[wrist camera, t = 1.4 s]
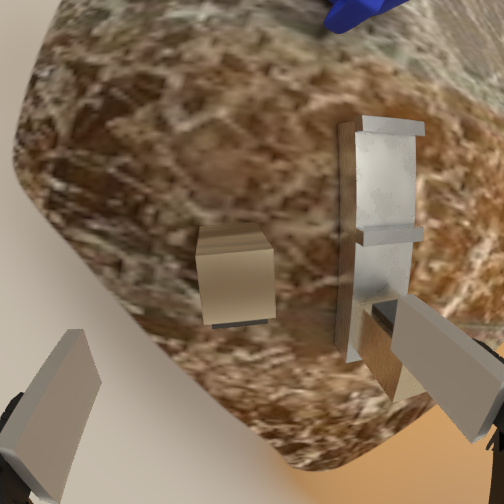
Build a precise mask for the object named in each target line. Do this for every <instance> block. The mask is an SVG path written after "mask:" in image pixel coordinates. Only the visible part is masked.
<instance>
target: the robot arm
mask: <svg viewBox="0 0 504 504" xmlns="http://www.w3.org/2000/svg"><path fill="white" fill-rule="evenodd" d="M390 350H391V351H392V352H393V353H394V355H395V356H396V357H397V358H398V359H399V360H400V361H401V362H402V364H403V365H404V366H405V367H406V368H407V369H408V370H409V371H410V373H411V374H412V375H413V376H414V377H415V378H416V379H417V381H418V382H419V383H420V384H421V385H422V386H423V387H424V389H425V390H426V391H427V392H428V393H429V394H430V396H431V397H432V398H433V399H434V400H435V401H436V403H437V404H438V405H439V406H440V407H441V408H442V410H443V411H444V412H445V413H446V414H447V415H448V417H449V418H450V419H451V420H452V421H453V423H454V424H455V425H456V426H457V427H458V429H459V430H460V431H461V432H462V433H463V434H464V436H465V437H466V438H467V439H468V441H469V442H470V443H471V444H473V443H474V442H476V441H478V440H480V439H481V438H483V437H485V436H486V435H487V433H488V431H489V430H490V428H491V426H492V424H494V425H495V426H496V427H497V429H496V431H495V433H494V434H493V436H492V438H491V440H490V441H489V443H488V445H487V447H486V450H489V448H490V446H491V445H492V443H494V447H493V449H492V451H493V467H492V479H491V488H490V496H489V504H504V358H502V357H501V356H500V357H499V355H498V354H497V353H496V352H495V351H492V349H491V348H490V347H488V346H487V345H486V344H485V343H483V342H481V341H478V340H476V339H474V338H470V337H469V336H468V335H467V334H465V333H464V332H463V331H461V330H460V329H459V328H457V327H456V326H455V325H454V324H452V323H451V322H450V321H448V320H447V319H446V318H444V317H443V316H442V315H440V314H439V313H438V312H436V311H435V310H434V309H432V308H431V307H430V306H428V305H427V304H426V303H424V302H423V301H421V300H420V299H419V298H417V297H416V296H415V295H413V294H408V295H403V296H398V302H397V310H396V317H395V323H394V330H393V336H392V342H391V347H390ZM101 383H102V382H101V380H100V377H99V374H98V372H97V369H96V366H95V363H94V360H93V357H92V355H91V352H90V349H89V346H88V343H87V339H86V336H85V333H84V330H83V329H69V330H67V331H66V333H65V334H64V335H63V337H62V338H61V340H60V341H59V342H58V344H57V345H56V347H55V348H54V350H53V351H52V352H51V354H50V355H49V357H48V358H47V360H46V361H45V363H44V364H43V365H42V367H41V368H40V370H39V372H38V373H37V374H36V376H35V377H34V379H33V381H32V382H31V384H30V385H29V387H28V388H27V390H26V392H25V393H23V392H20V393H19V394H18V395H17V396H16V397H14V398H13V399H12V400H11V401H10V403H9V404H8V406H7V407H6V409H5V412H3V414H2V415H1V417H0V504H33V503H32V501H31V500H30V499H29V495H30V492H31V491H32V492H33V493H34V494H35V495H36V496H37V497H38V498H39V499H40V500H42V501H45V502H49V503H53V504H60V501H61V498H62V495H63V491H64V488H65V485H66V481H67V478H68V474H69V472H70V469H71V465H72V462H73V459H74V456H75V453H76V450H77V447H78V444H79V442H80V439H81V436H82V433H83V430H84V427H85V425H86V422H87V419H88V417H89V414H90V411H91V409H92V406H93V403H94V401H95V398H96V396H97V393H98V391H99V388H100V386H101Z"/></svg>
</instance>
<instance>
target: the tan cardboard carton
mask: <svg viewBox="0 0 504 504" xmlns="http://www.w3.org/2000/svg"><path fill="white" fill-rule="evenodd" d="M195 257H196V266H197V274H198V283H199V291H200V298H201V306H202V313H203V320H204V325H209V324H212V329H218V328H229V327H239V326H248V325H257V324H266V323H268V321H267V319H268V318H276V307H275V274H274V249H273V247H272V246H271V244H270V243H269V241H268V240H267V238H266V237H265V235H264V234H263V232H262V231H261V229H260V228H259V226H258V225H257V224H256V222H247V223H235V224H223V225H212V226H201V227H200V229H199V235H198V242H197V248H196V255H195Z"/></svg>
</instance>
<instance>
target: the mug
mask: <svg viewBox="0 0 504 504" xmlns="http://www.w3.org/2000/svg"><path fill="white" fill-rule="evenodd" d="M329 1H330V2H331V3H332V4H334V6H333V7H332V8H331V10H330V11H329V13H328V15H327V17H326V18H325V21H324V26H325V27H326V28H327V29H328V30H330V31H332V32H334V33H336V34H342V33H344V32H347V31H348V30H350V29H352V28H354V27H355V26H357V25H358V24H360V23H361V22H363V21H365V20H366V19H368V18H369V17H371V16H374V15H379V14H382V13H384V12H386V11H388V10H390V9H392V8H394V7H396V6H398V5H400V4H403V3H405V2H407V1H409V0H329Z"/></svg>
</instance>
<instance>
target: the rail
mask: <svg viewBox="0 0 504 504" xmlns="http://www.w3.org/2000/svg"><path fill="white" fill-rule="evenodd" d="M415 136H425V128H424V122H421V121H413V120H405V119H397V118H387V117H377V116H364V115H362V116H357V117H354V121H351V122H346V123H341V124H338V145H339V178H340V239H339V273H338V294H337V311H336V325H335V338H334V345H335V346H336V348H337V350H338V351H339V353H340V354H341V356H342V357H343V359H344V361H345V362H346V363H349V362H353V361H358V360H363V361H364V363H365V364H366V366H367V367H368V368H369V370H370V371H371V373H372V374H373V375H374V377H375V378H376V380H377V381H378V383H379V384H380V385H381V387H382V388H383V390H384V391H385V393H386V394H387V395H388V397H389V398H390V400H391V401H392V403H394V402H397V401H400V400H403V399H406V398H409V397H412V396H415V395H418V394H421V393H424V392H426V390H425V389H424V387H423V386H422V385H421V384H420V383H419V382H418V381H417V379H416V378H415V377H414V376H413V375H412V374H411V373H410V371H409V370H408V369H407V368H406V367H405V366H404V365H403V364H402V362H401V361H400V360H399V359H398V358H397V357H396V356H395V355H394V353H393V352H392V351H391V350H390V347H391V342H392V336H393V330H394V323H395V317H396V310H397V302H398V296H403V295H407V291H408V284H409V276H410V267H411V258H412V247H413V242H418V241H422V238H423V227H421V226H418V225H416V224H414V219H415V195H416V144H415Z"/></svg>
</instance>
